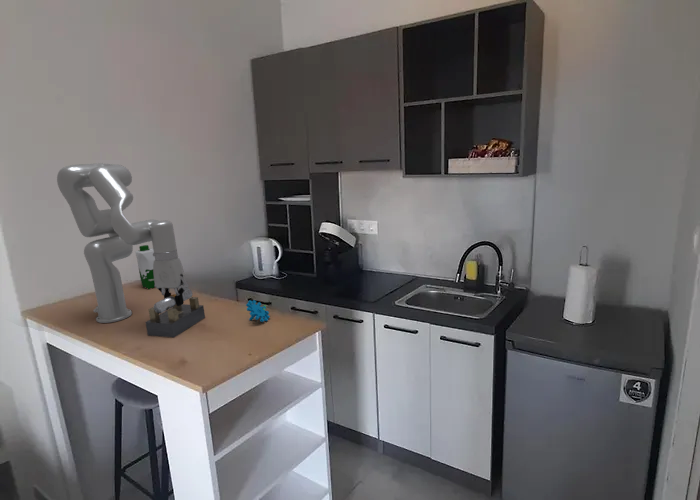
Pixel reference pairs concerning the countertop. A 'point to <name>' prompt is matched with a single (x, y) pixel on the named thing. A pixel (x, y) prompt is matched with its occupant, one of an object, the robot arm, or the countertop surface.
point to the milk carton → (146, 266)
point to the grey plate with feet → (175, 319)
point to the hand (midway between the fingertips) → (174, 304)
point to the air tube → (170, 301)
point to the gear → (257, 311)
